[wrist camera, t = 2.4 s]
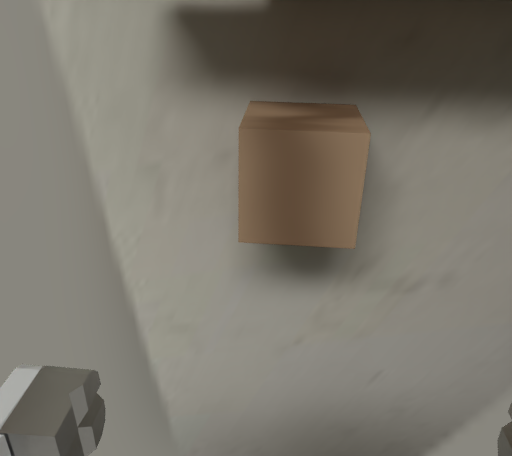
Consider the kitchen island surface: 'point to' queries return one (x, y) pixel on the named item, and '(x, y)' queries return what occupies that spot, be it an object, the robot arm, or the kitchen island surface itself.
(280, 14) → the kitchen island surface
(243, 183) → the walnut block
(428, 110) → the kitchen island surface
